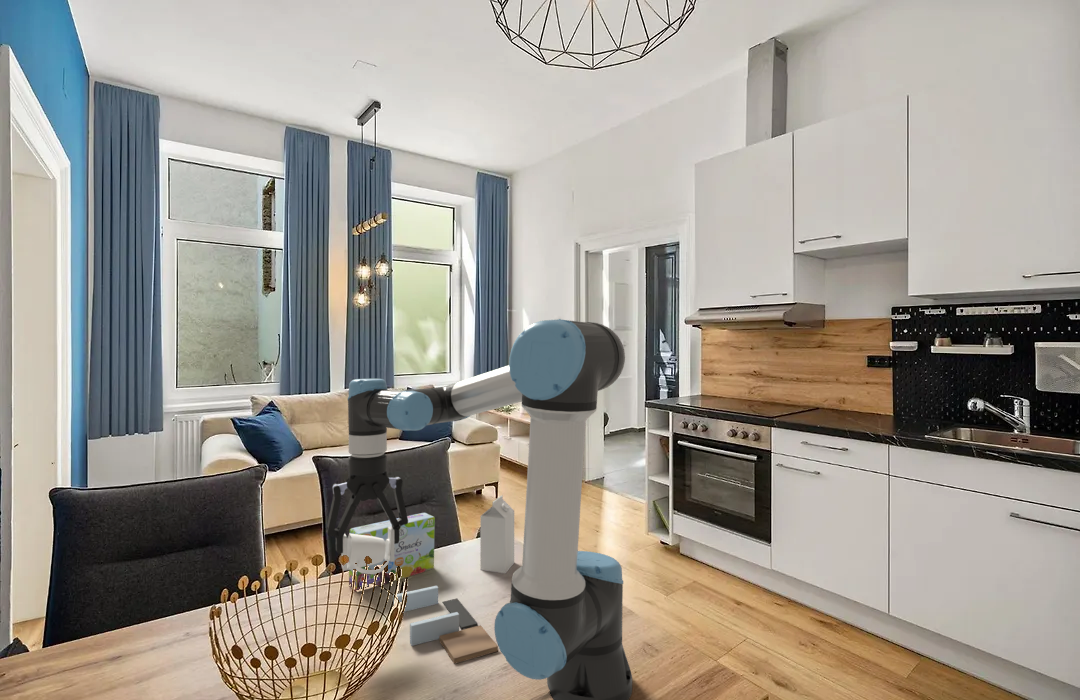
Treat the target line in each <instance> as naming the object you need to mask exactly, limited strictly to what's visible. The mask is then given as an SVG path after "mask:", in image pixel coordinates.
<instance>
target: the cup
mask: <svg viewBox="0 0 1080 700" xmlns="http://www.w3.org/2000/svg"><path fill="white" fill-rule="evenodd" d="M390 551H391V545H390V541H389V539H386V541H384V539H383V538H378V537H374V536H367V535H358V534H350V532H349V534H348V536H347V556H348V557H349V562H348V563H347V570H346V571H349V570H350V569H356V570H357V571H358V572H361V573H364V574H377V573H380V572H381V571H383V570H384V568H385V567H386V566H387V565H388V563H389V561H390ZM366 556H369V557H370V558H371V559H372V563H370V564H367V566H370V565H373V564H377V563H380V562H382V561H383V559H385V560H386V561H387V562H386V563H385V564H384V565H383V566H382V567H381V568H380V569H376V570H366V569H363V568H360V567H365V566H366V563H365V561H364V559H365V557H366ZM355 563H357V564H355Z"/></svg>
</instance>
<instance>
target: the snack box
mask: <svg viewBox="0 0 1080 700" xmlns="http://www.w3.org/2000/svg"><path fill="white" fill-rule="evenodd" d="M407 518H408V523H407V524H406V525H402V526H401V528H400V529H399V543H397V544H394V562H391V561H389V563H388V572H386V573H385V583H384V585H387V584H390V583H389V581H390V575H389V573H390V572H393V573H394V574H396V575H395V576H396V581H398V580H397V572H396V568H397V567H398V566H400V567H401V569H402V576H401V579H400V580H402V579H406V578H408V577H412V576H415V575H418V574H421V573H425V572H427V571H430V570H434V568H435V530H436V529H435V526H436V525H435V524H436V522H435V519H436V518H435V516H433V515H431V514H429V513H427V512H421V513H415V514H410V515H407ZM396 519H399V517H398V518H397V517H396ZM390 526H391V527H392V524H391V522H390V521H389V519H388V520H384V521H379V522H375V523H370V524H366V525H361V526H356V527H351V528H350V529H349V533H350V534H358V535H367V536H374V537H378V538H383V539H384V541H386V539H388V527H390ZM384 561H386V560H385V559H383V561H382V562H380V563H377V564H373V565H370V566H369V567H368V570H374V567H375V566H377V565H382V564H383V562H384ZM381 567H382V566H381ZM360 568H363V569H365V567H360ZM352 576H353V569H350V570H348V586H349V585H350V584H351V587H352ZM374 576H375V574H367V585H368V586H367V587H369V584H371V583H373V582H374ZM363 580H364V573H361V572H358V571H357V572H356V576H355V591H356V590H359V589H360V587H361V589H362V583H363ZM381 582H382V571H381V572H380V573H379V574H378V577H377V580H376V585H379V586H378V587H381V586H382V585H381ZM380 585H381V586H380ZM351 587H350V588H351ZM365 588H366V587H365ZM375 588H377V586H376V587H375ZM355 591H354V592H355Z"/></svg>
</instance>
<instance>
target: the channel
mask: <svg viewBox="0 0 1080 700" xmlns="http://www.w3.org/2000/svg"><path fill="white" fill-rule="evenodd" d="M406 592H407V596H408V597H407V603H406V607H405V611H404V612H403V613H405V612H408V611H412V610H416V609H417V610H418V609H421V608H425V607H426V608H427V607H430V606H434V605H438V604H439V587H438V585H433V586H429V587H424V588H420V589H415V590H410V591H406ZM403 593H404V592H401V593H396V594H397V597H398V600H399V602H402V594H403ZM394 595H395V594H393V595H392V596H393V599H392V600H393V601H392V602H393V603H392V605H393V604H394ZM457 631H460V627H459V614H458V612H455V613H447V614H444V615H438V616H434V617H431V618H430V617H429V618H426V619H422V620H417V621H414V622H411V623H409V645H410V646H411V647H414V646H416V645H417V646H418V645H420V644H425V643H429V642H432V641H436V640H439V636H441V635H445V634H449V633H453V632H457Z"/></svg>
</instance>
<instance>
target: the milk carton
mask: <svg viewBox="0 0 1080 700" xmlns="http://www.w3.org/2000/svg"><path fill="white" fill-rule="evenodd" d="M503 497H504V496H503V494H502V495H500V496H499V497H497V498H496V499H495V500H493V501H492V506H491V507H489V508H488V509H487V510H486V511H485V512H483V513H482V514H481V515H480V537H479V538H480V548H479V549H480V550H479V551H480V553H479V554H480V564H479V566H480V571H485V572H486V571H487V572H491V573H498V574H499V573H500V574H506V573H508V571H509V570H510V568H511V567H512V566H513V565H514V564H515V509H513V508H512V507H511V506H510V505H509V504H508V503H507V502H506V500H505V499H504V498H503Z"/></svg>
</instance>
